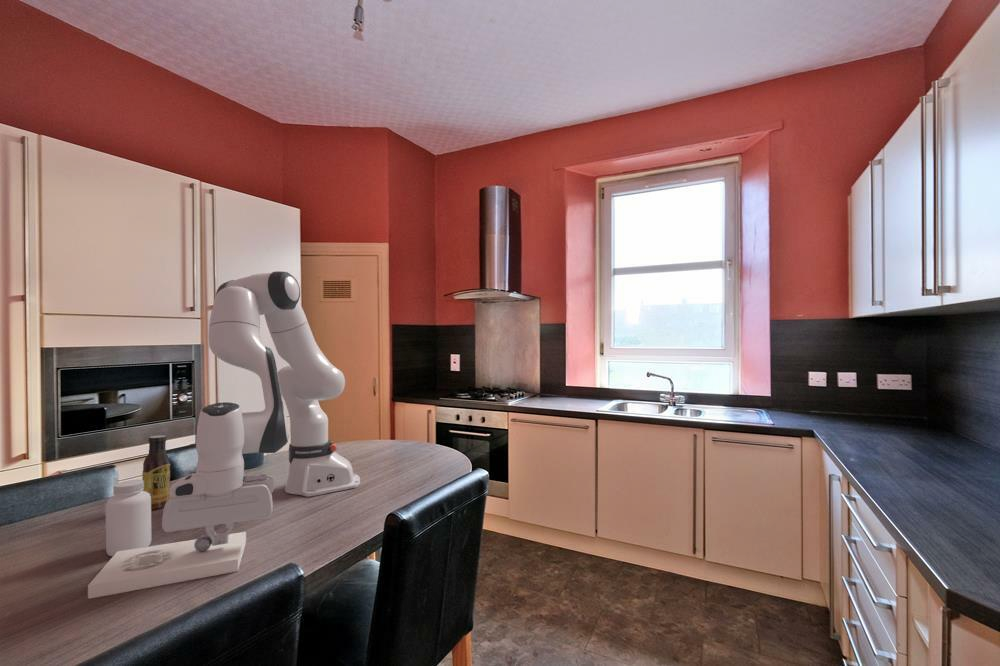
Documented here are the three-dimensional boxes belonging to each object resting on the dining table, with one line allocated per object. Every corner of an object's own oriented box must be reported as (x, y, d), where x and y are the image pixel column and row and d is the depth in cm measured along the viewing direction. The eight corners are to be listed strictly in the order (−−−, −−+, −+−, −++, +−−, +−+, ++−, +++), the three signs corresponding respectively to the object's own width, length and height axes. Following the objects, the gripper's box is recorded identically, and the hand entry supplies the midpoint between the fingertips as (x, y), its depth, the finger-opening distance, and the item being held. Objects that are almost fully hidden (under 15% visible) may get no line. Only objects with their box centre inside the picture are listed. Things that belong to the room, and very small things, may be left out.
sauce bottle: (154, 512, 123) (154, 439, 123) (135, 510, 124) (135, 438, 124) (175, 503, 129) (175, 434, 129) (157, 501, 130) (158, 433, 130)
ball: (208, 529, 97) (192, 539, 96) (205, 535, 94) (189, 545, 93) (216, 541, 98) (200, 551, 97) (213, 547, 95) (197, 557, 94)
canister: (234, 460, 173) (234, 415, 173) (270, 459, 174) (270, 414, 174) (217, 471, 160) (217, 421, 160) (255, 469, 161) (255, 420, 161)
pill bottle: (123, 541, 105) (123, 477, 105) (159, 540, 106) (159, 476, 106) (95, 558, 97) (96, 489, 97) (135, 556, 98) (135, 488, 98)
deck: (246, 542, 105) (246, 531, 105) (237, 571, 92) (237, 559, 92) (117, 563, 95) (117, 551, 95) (87, 598, 82) (87, 585, 82)
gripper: (275, 469, 104) (274, 529, 104) (168, 481, 96) (167, 546, 95) (273, 477, 98) (273, 540, 98) (159, 490, 90) (159, 559, 90)
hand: (220, 543), depth 97 cm, fingers closed
